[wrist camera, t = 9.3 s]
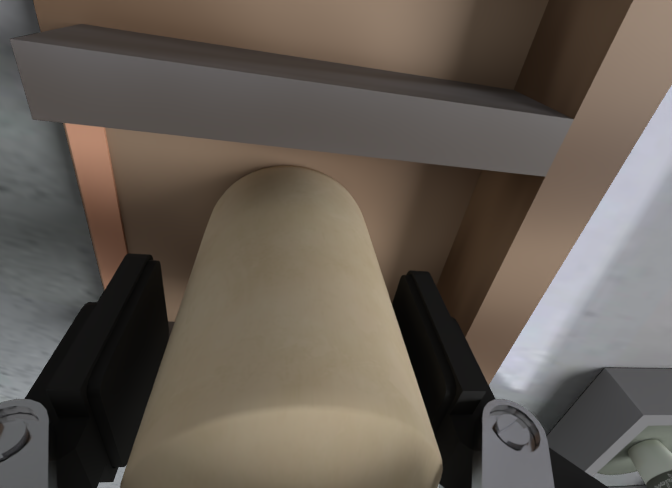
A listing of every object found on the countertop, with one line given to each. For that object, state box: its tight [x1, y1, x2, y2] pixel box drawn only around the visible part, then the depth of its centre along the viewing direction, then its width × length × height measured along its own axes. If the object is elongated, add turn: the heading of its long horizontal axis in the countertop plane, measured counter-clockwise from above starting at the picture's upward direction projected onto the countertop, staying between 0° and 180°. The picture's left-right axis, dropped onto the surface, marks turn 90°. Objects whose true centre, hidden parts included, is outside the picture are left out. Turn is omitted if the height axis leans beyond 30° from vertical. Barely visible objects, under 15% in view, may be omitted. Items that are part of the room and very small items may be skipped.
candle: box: [120, 165, 443, 488], centre depth 10 cm, size 6×6×10 cm
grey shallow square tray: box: [547, 368, 672, 488], centre depth 27 cm, size 17×17×3 cm
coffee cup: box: [597, 425, 672, 488], centre depth 26 cm, size 12×12×5 cm
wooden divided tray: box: [10, 0, 672, 385], centre depth 10 cm, size 23×15×4 cm, turn 171°
